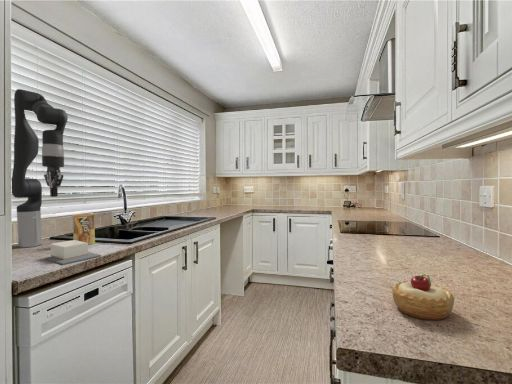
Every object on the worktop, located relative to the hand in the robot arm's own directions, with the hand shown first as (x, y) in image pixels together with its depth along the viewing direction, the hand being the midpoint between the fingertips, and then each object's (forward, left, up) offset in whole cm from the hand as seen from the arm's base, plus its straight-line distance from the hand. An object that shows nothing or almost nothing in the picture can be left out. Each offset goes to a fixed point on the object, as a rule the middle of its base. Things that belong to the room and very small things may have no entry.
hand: (54, 196), depth 119 cm
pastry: (+134, +21, -25) cm, 138 cm away
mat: (+12, +2, -25) cm, 28 cm away
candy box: (-11, +17, -25) cm, 32 cm away
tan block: (+3, +2, -22) cm, 22 cm away
